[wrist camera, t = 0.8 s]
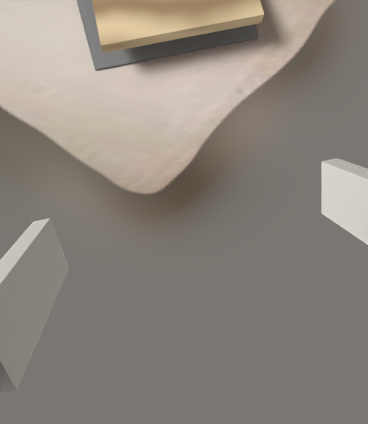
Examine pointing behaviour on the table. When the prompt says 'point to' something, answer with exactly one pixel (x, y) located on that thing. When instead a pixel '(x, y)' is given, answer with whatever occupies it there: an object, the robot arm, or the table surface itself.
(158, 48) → the underlay mat
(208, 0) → the board
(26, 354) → the robot arm
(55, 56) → the table surface
